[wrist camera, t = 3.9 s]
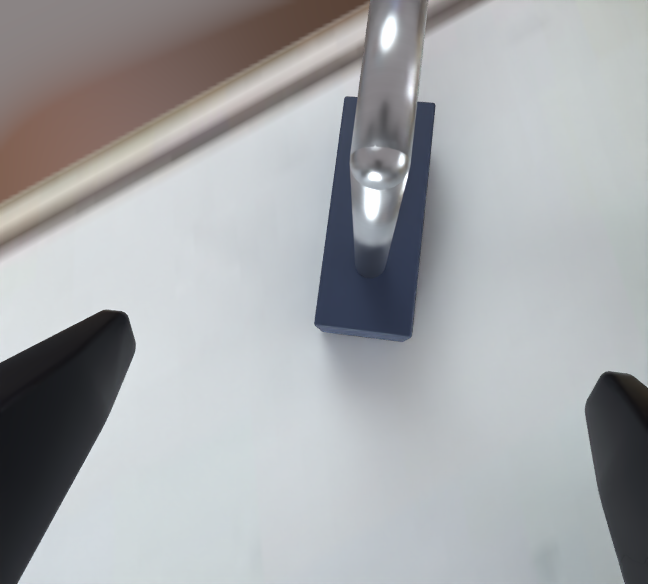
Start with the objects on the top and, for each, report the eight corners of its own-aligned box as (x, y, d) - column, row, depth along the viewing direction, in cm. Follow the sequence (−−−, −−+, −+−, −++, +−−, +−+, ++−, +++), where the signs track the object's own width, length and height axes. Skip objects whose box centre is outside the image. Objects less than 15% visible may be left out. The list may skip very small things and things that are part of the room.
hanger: (404, 342, 19) (474, 304, 7) (320, 331, 19) (258, 279, 8) (425, 140, 20) (514, -172, 9) (346, 133, 21) (328, -175, 9)
